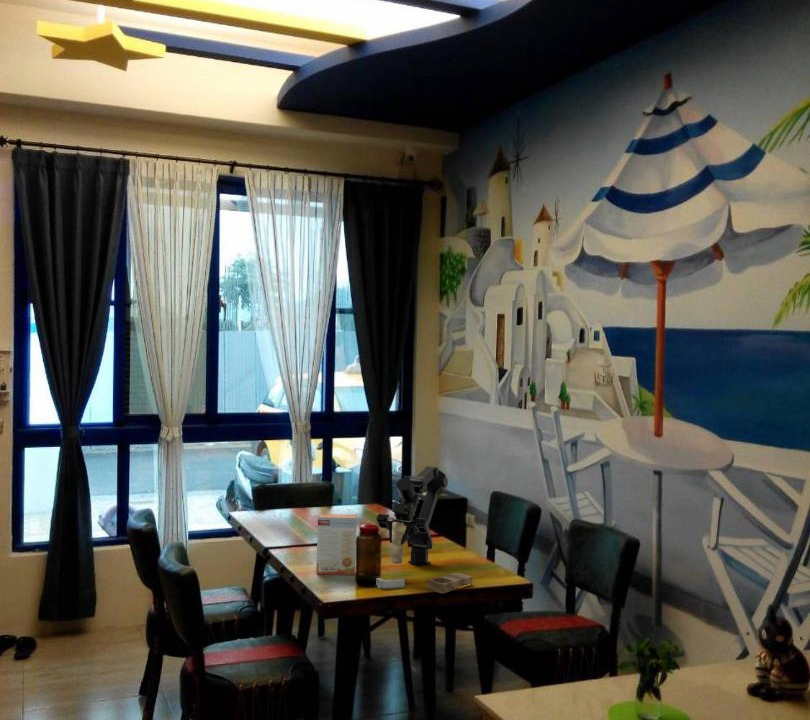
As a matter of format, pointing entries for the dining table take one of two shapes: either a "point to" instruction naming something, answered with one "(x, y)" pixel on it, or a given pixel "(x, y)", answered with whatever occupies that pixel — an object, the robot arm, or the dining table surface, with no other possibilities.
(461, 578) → the wooden socket block
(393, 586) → the v cradle
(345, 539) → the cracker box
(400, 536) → the dowel
